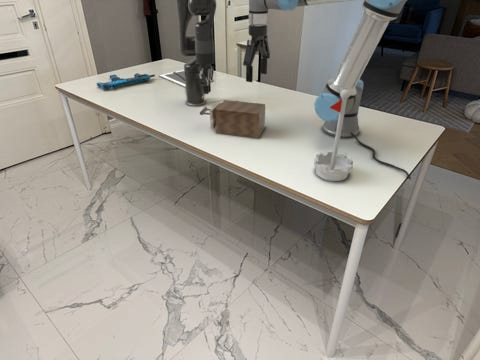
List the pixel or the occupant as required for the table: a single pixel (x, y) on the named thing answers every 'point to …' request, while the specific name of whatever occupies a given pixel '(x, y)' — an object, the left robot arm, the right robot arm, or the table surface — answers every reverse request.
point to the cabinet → (240, 118)
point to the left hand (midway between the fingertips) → (207, 92)
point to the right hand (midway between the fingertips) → (256, 77)
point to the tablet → (175, 77)
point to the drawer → (211, 115)
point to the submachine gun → (124, 81)
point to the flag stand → (335, 150)
